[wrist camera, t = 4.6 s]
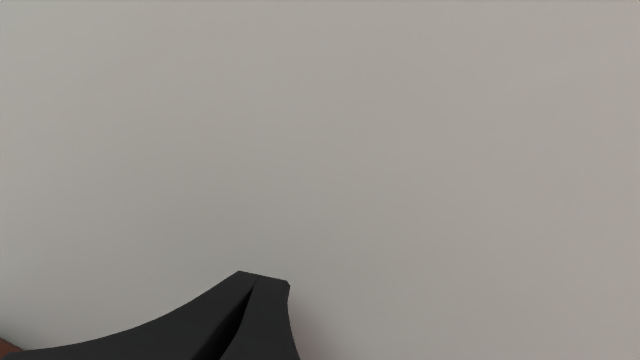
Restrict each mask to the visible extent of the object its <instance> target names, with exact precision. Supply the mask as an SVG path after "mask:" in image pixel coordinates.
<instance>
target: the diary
mask: <svg viewBox="0 0 640 360" xmlns="http://www.w3.org/2000/svg"><path fill="white" fill-rule="evenodd" d="M19 351H24V350H22V349H21V348H19V347H17V346H15V345H13V344H11V343H9V342H7V341H5V340H3V339H1V338H0V359H2V358H3V357H4V356H5V355H6V354H8V353H9V352H19Z"/></svg>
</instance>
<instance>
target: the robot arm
mask: <svg viewBox="0 0 640 360" xmlns="http://www.w3.org/2000/svg"><path fill="white" fill-rule="evenodd" d="M289 290H290V285H289V284H288V282H287V281H285V280H281V279H276V278H271V277H267V276H262V275H257V274H252V273H248V272H243V271H237V272H236V273H234V274H233V275H231V276H229V277H228V278H226V279H225V280H223V281H222V282H220V283H219V284H217V285H216V286H214V287H213V288H211V289H210V290H208V291H207V292H205V293H203V294H202V295H200V296H199V297H197V298H195V299H194V300H192V301H190V302H188V303H187V304H185V305H183V306H181V307H179V308H177V309H175V310H174V311H172V312H170V313H168V314H166V315H164V316H162V317H159V318H157V319H155V320H152V321H150V322H147V323H145V324H142V325H140V326H137V327H135V328H132V329H129V330H126V331H122V332H119V333H116V334H112V335H109V336H106V337H102V338H99V339H95V340H90V341H86V342H82V343H77V344H71V345H66V346H60V347H54V348H46V349H37V350H28V351H19V352H9V353H8V354H6V355H5V356H4V357H3V358H2V359H0V360H300V358H299V355H298V352H297V349H296V346H295V343H294V339H293V336H292V332H291V327H290V321H289V315H288V305H287V302H288V296H289Z"/></svg>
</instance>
